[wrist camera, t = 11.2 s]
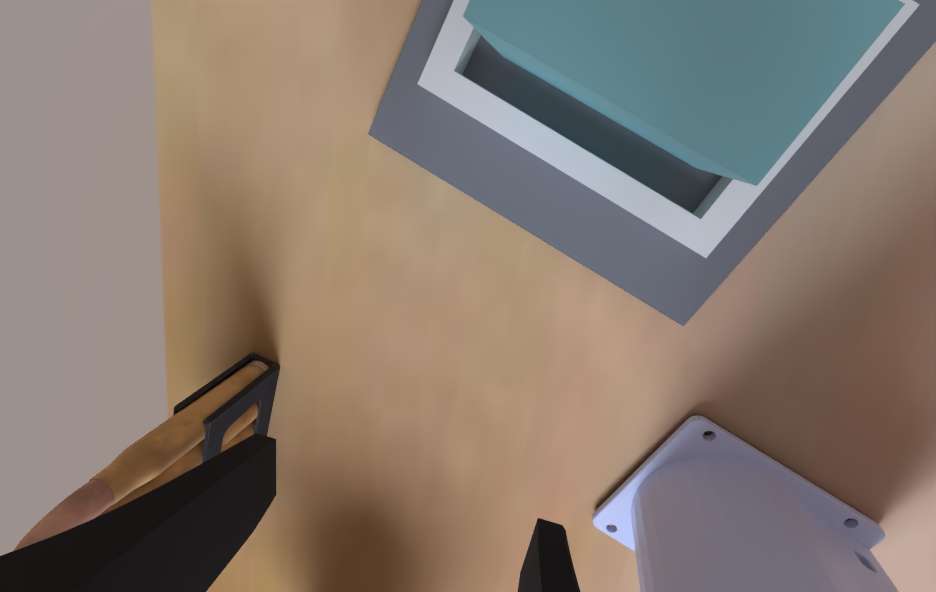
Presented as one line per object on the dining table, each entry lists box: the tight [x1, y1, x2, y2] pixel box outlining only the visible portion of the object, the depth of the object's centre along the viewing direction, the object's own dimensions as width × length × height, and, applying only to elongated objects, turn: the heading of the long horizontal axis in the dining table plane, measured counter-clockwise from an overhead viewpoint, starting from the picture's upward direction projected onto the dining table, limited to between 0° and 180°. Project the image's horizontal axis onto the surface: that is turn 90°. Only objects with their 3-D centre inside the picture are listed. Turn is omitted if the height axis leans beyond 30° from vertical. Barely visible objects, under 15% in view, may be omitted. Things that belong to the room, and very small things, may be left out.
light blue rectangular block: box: [463, 0, 905, 186], centre depth 12 cm, size 4×8×6 cm, turn 62°
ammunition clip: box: [14, 353, 280, 551], centre depth 21 cm, size 11×2×12 cm, turn 161°
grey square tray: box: [368, 0, 936, 326], centre depth 15 cm, size 15×14×2 cm
